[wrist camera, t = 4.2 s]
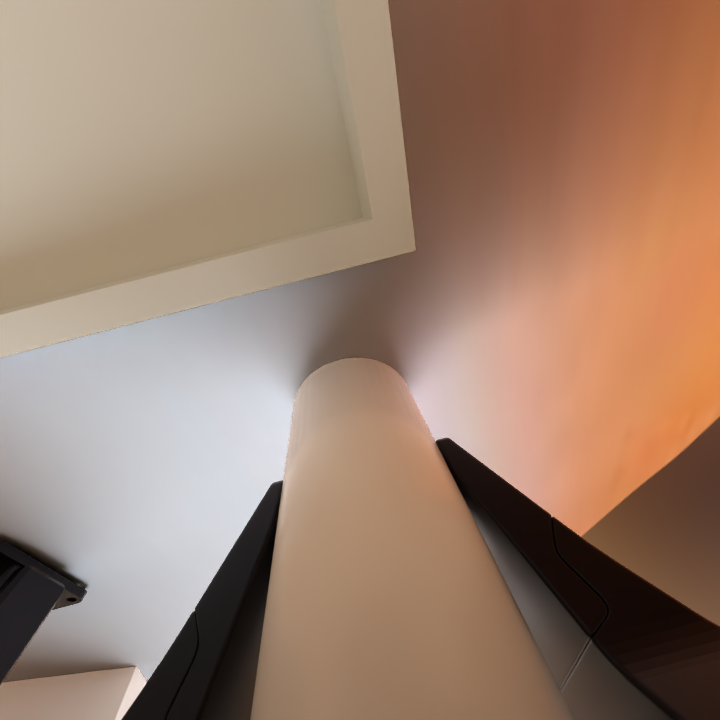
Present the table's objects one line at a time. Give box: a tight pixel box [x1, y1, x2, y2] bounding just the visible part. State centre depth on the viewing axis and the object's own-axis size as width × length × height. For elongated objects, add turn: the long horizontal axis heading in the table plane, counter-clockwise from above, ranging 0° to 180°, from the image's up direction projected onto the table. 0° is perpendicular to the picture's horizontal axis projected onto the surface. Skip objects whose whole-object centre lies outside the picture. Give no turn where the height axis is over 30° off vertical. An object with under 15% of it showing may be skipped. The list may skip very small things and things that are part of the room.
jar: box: [250, 358, 575, 720], centre depth 7 cm, size 5×5×10 cm
